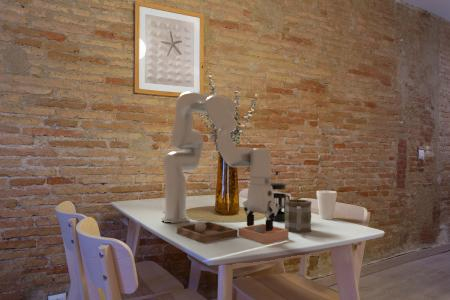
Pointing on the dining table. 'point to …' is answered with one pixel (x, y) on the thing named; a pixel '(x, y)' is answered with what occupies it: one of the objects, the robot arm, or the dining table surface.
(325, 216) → the foam cup
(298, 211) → the mug
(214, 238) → the walnut tray
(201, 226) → the beige ball
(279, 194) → the french press
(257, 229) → the grey ball
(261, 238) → the terracotta dish
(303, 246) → the dining table surface
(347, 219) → the dining table surface
